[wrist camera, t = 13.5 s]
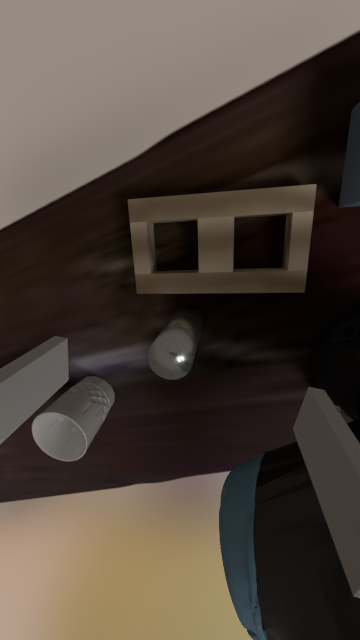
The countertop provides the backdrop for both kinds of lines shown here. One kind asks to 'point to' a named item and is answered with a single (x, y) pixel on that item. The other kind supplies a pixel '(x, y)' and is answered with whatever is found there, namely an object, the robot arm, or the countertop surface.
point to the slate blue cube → (352, 164)
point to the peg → (176, 344)
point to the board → (223, 240)
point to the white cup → (73, 419)
